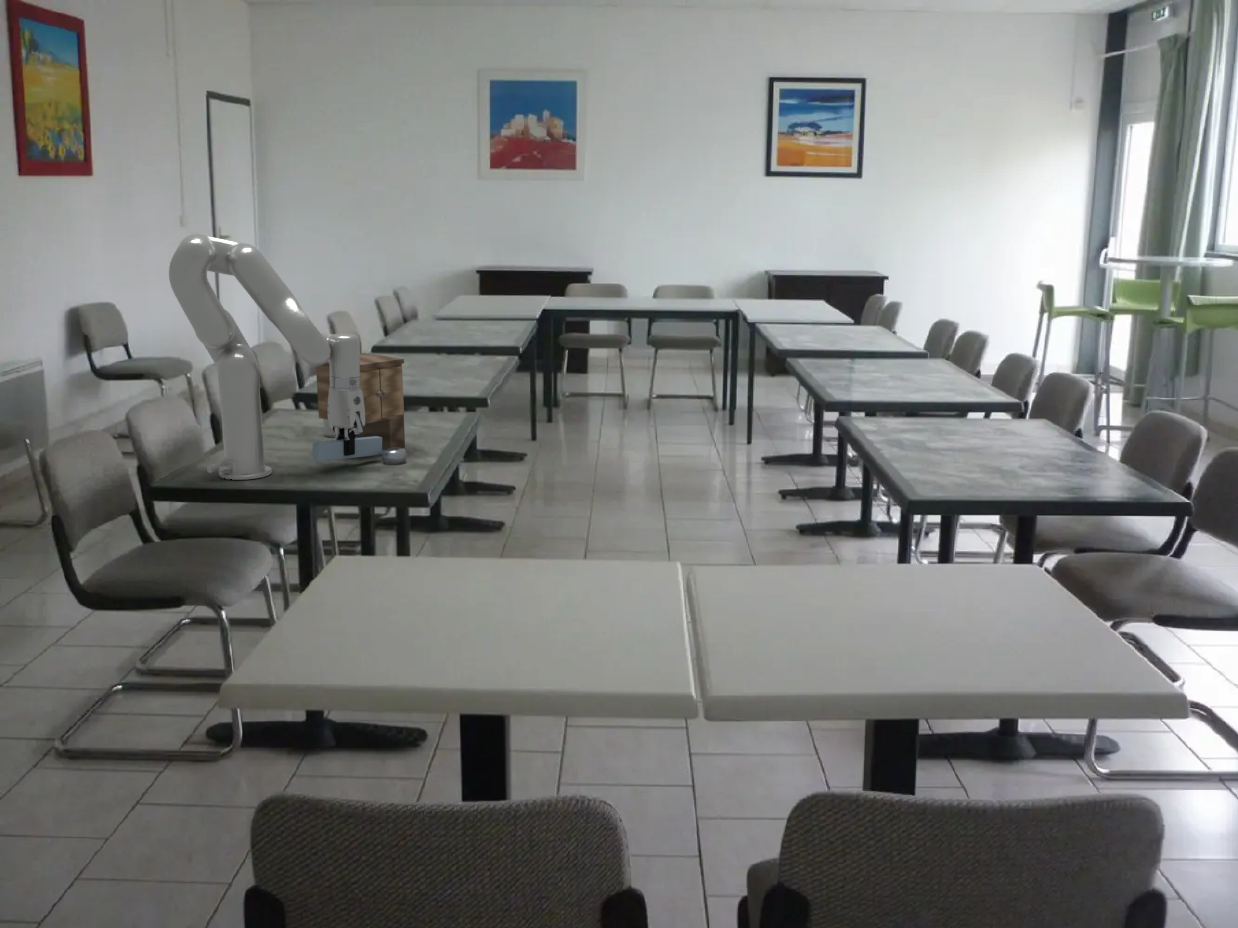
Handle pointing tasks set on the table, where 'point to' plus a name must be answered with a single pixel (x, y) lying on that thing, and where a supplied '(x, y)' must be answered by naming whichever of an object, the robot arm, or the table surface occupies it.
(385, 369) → the cabinet
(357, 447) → the slat
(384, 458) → the puck
